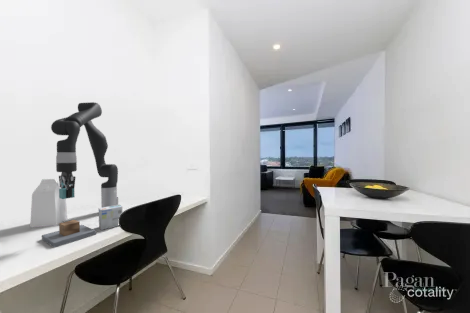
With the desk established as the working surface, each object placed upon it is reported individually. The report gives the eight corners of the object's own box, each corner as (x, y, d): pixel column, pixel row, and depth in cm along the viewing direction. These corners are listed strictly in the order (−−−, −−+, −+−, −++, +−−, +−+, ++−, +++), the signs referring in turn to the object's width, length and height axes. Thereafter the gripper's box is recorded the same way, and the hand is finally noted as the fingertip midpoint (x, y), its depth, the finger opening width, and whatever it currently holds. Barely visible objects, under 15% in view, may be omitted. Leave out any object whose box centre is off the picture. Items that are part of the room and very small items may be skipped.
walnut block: (74, 229, 100) (74, 219, 100) (79, 231, 97) (79, 221, 97) (59, 233, 95) (59, 223, 95) (64, 236, 92) (64, 225, 92)
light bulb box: (120, 222, 116) (119, 204, 116) (123, 225, 111) (123, 206, 111) (98, 227, 109) (97, 207, 109) (100, 230, 104) (100, 210, 104)
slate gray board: (81, 228, 107) (81, 224, 107) (95, 234, 98) (95, 230, 98) (41, 239, 93) (41, 235, 93) (54, 247, 85) (54, 242, 85)
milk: (67, 218, 123) (66, 177, 123) (56, 225, 112) (55, 179, 112) (44, 220, 120) (43, 178, 120) (30, 227, 109) (29, 180, 109)
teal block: (70, 196, 99) (70, 187, 99) (74, 197, 96) (74, 188, 96) (59, 198, 95) (59, 188, 95) (62, 199, 92) (62, 189, 92)
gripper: (82, 161, 95) (82, 197, 95) (70, 161, 102) (71, 194, 103) (62, 162, 88) (62, 200, 89) (51, 162, 96) (52, 196, 96)
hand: (67, 196), depth 96 cm, fingers closed on teal block, 4 cm apart
